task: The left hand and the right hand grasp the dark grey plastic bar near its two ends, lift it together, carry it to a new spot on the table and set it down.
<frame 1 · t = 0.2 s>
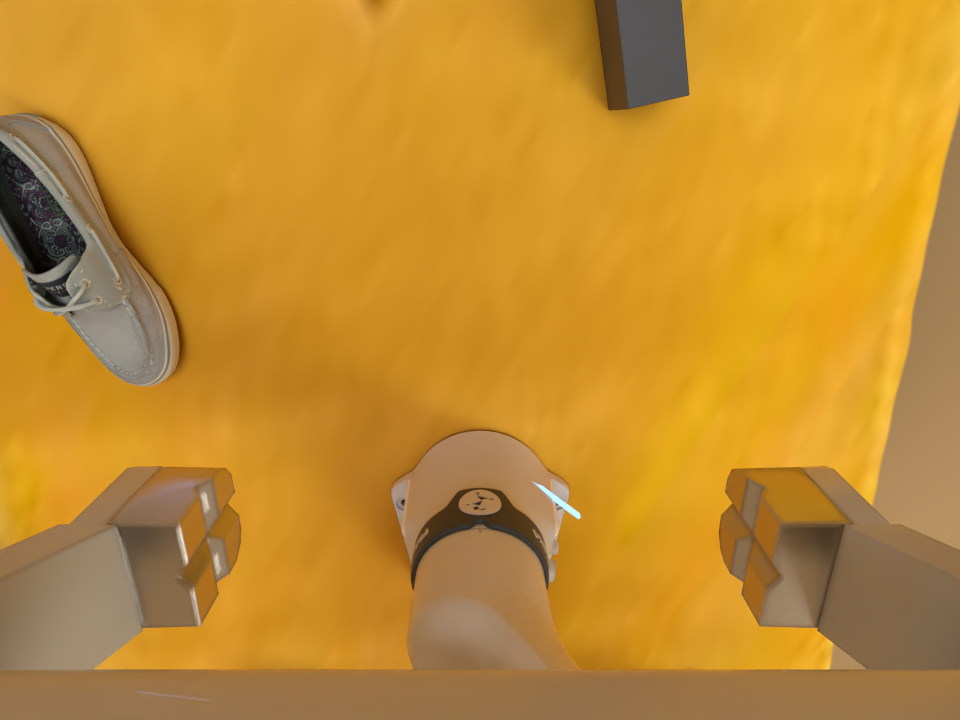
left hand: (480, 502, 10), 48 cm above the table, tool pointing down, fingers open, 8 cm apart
boat shoe: (99, 256, 57), on the table
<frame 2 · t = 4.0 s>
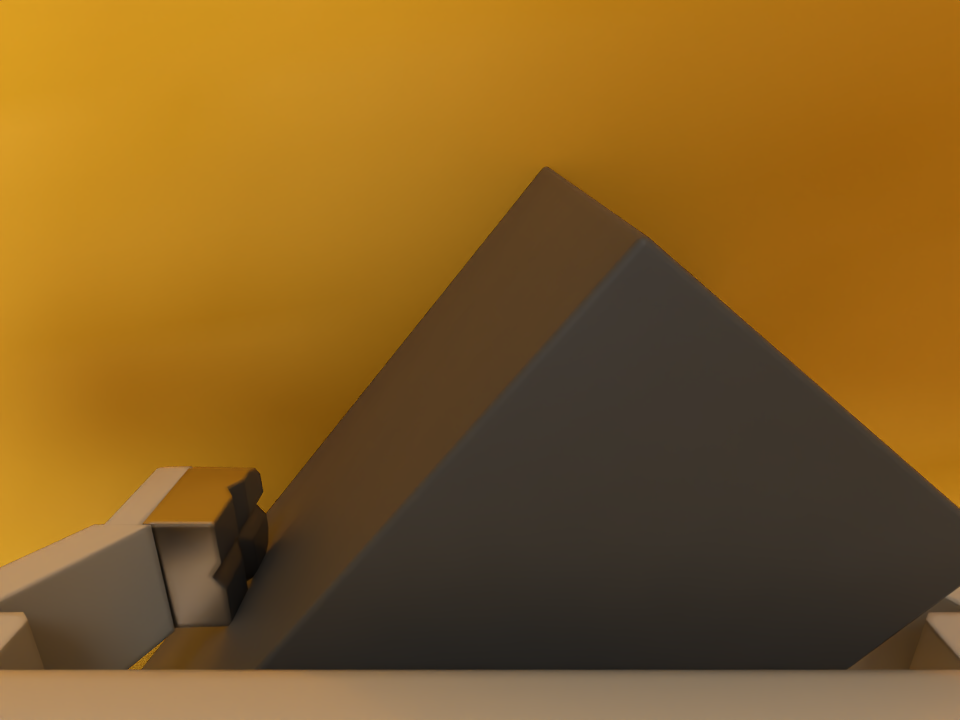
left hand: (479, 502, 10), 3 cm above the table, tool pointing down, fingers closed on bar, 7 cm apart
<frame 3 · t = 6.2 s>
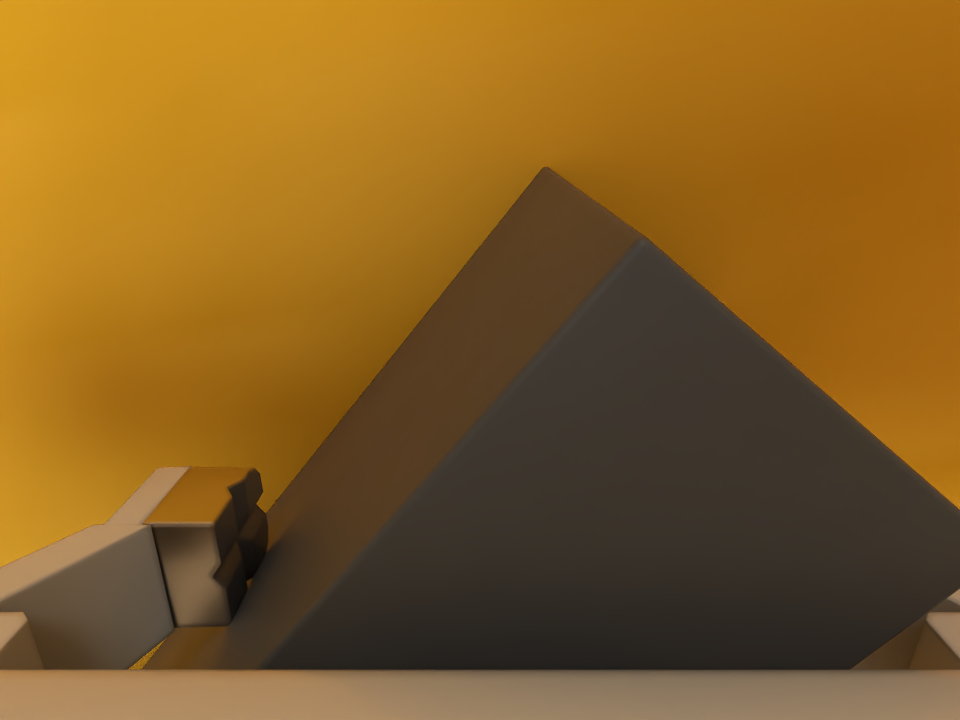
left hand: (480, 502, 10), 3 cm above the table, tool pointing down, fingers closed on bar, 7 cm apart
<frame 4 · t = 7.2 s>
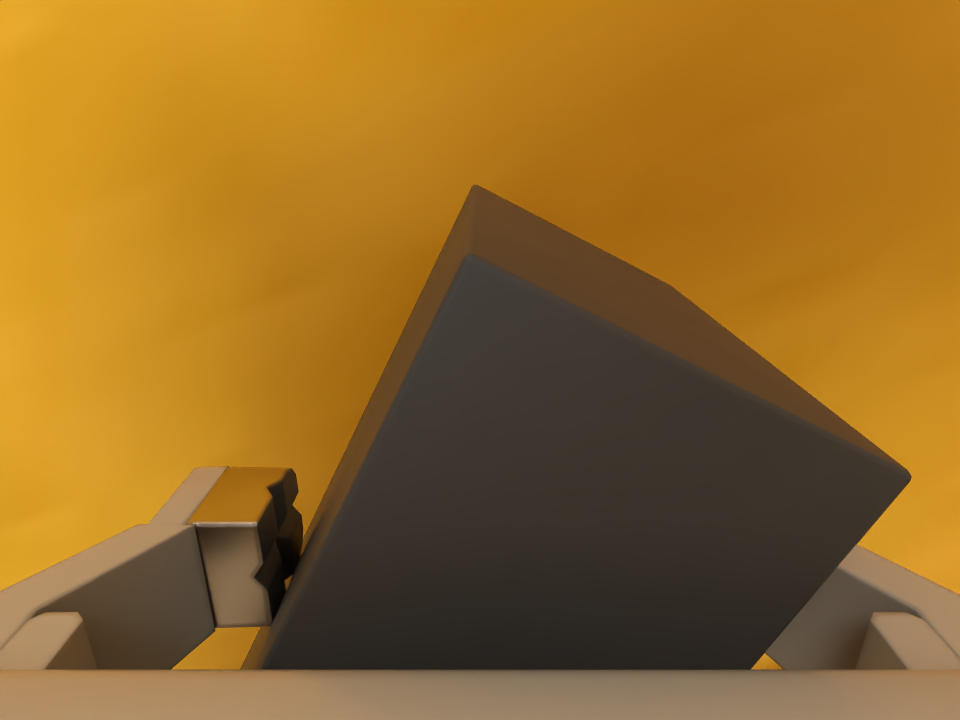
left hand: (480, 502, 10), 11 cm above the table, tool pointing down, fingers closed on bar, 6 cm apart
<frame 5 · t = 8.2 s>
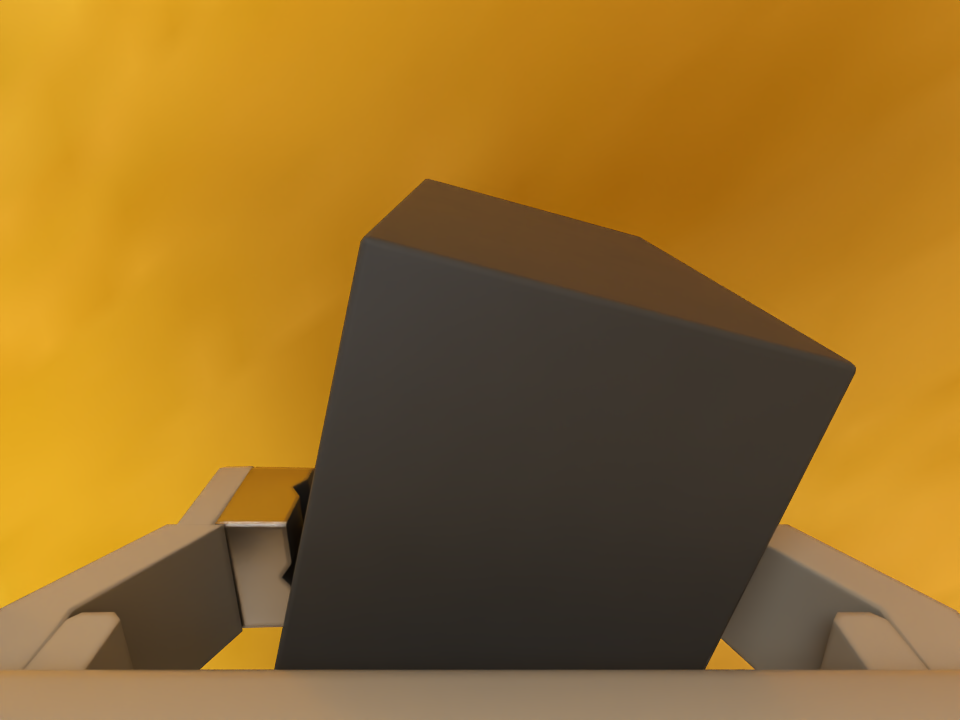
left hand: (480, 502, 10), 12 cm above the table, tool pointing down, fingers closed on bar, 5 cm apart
when the right hand's fingers open (4 cm above the table, at t = 10.5 s): bar stays where it is, on the table.
when the left hand's fingers open (4 cm above the table, at t = 10.6 s): bar stays where it is, on the table.
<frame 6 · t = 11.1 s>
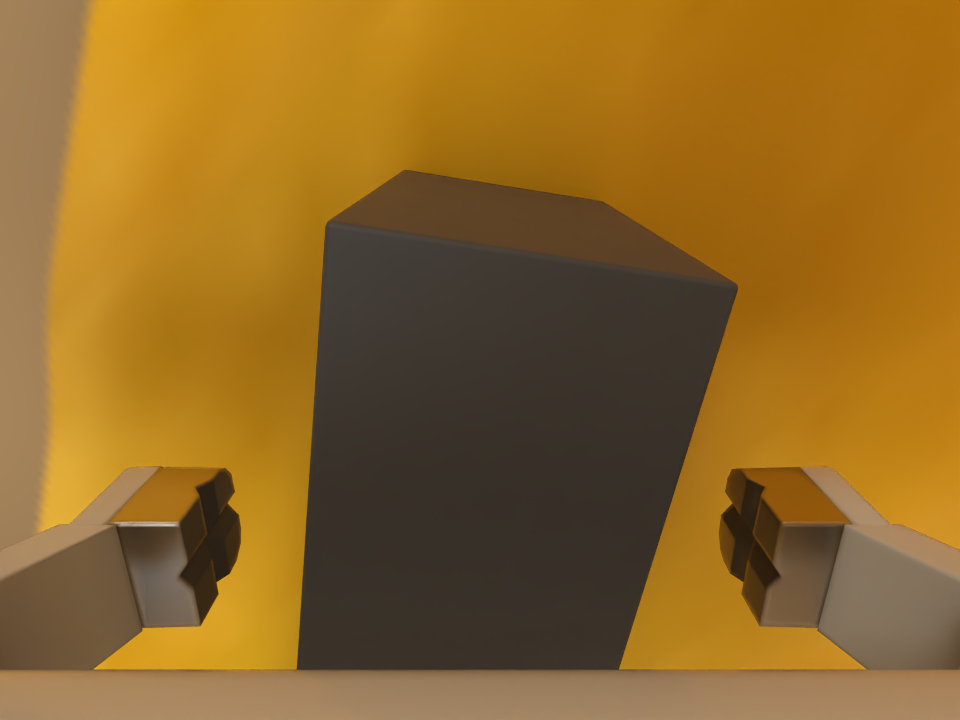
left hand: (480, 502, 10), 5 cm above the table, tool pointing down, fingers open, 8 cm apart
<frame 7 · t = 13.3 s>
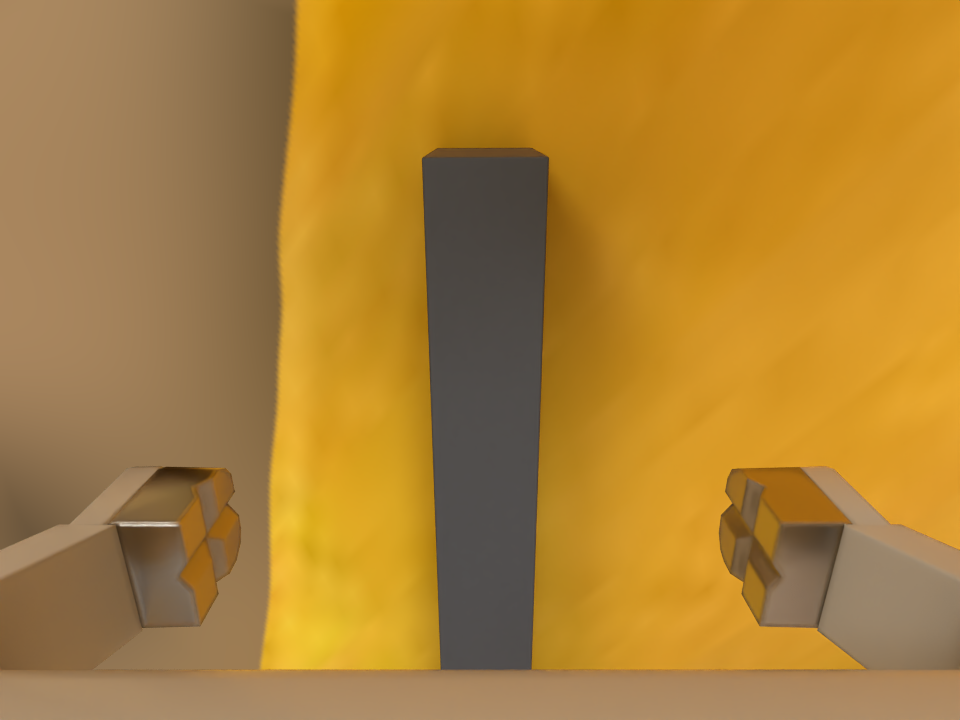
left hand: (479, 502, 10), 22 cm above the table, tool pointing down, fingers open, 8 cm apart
bar: (485, 613, 39), on the table
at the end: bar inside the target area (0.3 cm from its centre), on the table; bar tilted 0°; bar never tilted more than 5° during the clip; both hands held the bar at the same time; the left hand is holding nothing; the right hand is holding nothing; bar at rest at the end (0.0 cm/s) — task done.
